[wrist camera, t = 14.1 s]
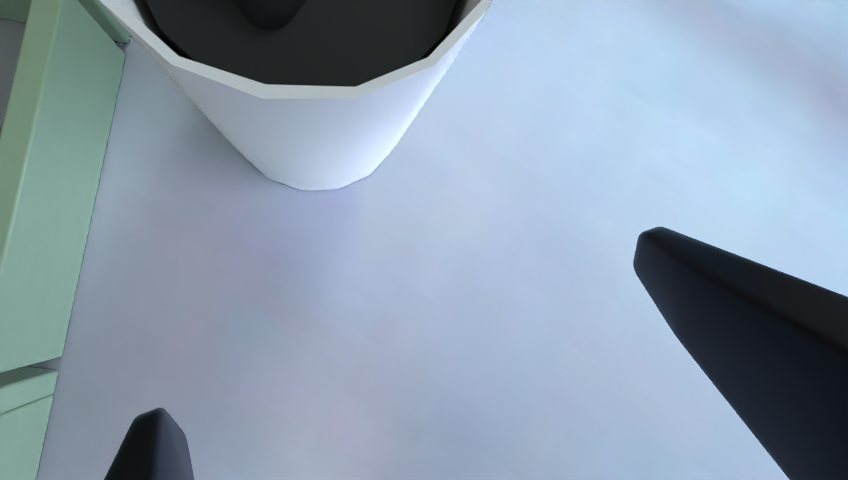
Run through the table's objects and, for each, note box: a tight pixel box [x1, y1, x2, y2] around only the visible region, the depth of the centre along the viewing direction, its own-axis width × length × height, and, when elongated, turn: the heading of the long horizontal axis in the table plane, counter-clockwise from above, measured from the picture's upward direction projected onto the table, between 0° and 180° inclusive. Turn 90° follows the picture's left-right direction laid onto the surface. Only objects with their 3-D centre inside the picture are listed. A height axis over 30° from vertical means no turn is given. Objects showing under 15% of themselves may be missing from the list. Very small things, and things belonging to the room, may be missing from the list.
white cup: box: [99, 0, 492, 191], centre depth 13 cm, size 7×7×10 cm
